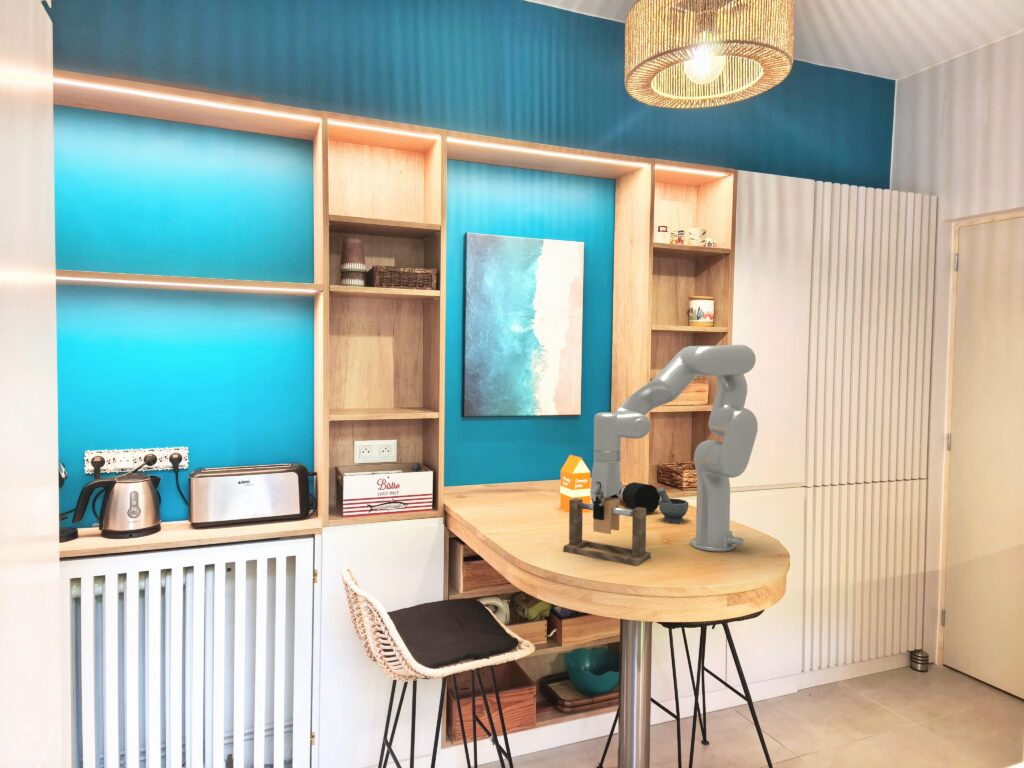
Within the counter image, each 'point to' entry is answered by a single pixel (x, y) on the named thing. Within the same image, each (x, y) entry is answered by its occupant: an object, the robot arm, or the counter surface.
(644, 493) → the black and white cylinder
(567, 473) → the orange juice
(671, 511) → the mortar and pestle
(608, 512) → the u-slot holder
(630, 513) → the rail
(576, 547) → the stand
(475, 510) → the counter surface
